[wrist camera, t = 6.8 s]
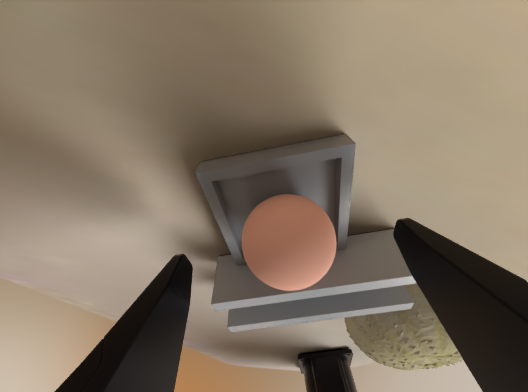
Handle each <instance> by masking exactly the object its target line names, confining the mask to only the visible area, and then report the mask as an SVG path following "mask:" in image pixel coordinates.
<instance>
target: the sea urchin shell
mask: <svg viewBox="0 0 528 392" xmlns="http://www.w3.org/2000/svg"><path fill="white" fill-rule="evenodd" d="M404 287H405V288H406V290H407V292H408V293H409V295H410V296H411V298H412V300H413V301H414V304H413V306H412V308H411V309H407V310H399V311H391V312H384V313H376V314H368V315H361V316H353V317H345V323H346V327H347V332H348V333H349V334H350V338H351V339H353V341H354V342H355V343H354V344H356V345H357V346H358V347H359V348H360V350H362V351H363V352H364V353H365V354H366V355H367V356H368V357H369V358H371V359H373V360H374V361H376V362H378V363H380V364H383V365H385V366H390V367H393V368H396V369H401V370H419V369H429V368H438V367H441V366H443V365H447V366H449V365H450V364H455V363H457V362H458V361H462V360H463V358H462V357H461V355H460V353H459V352H458V350H457V348H456V347H455V345H454V344H453V342H452V340H451V339H450V337H449V335H448V334H447V332H446V330H445V329H444V327H443V326H442V324H441V322H440V321H439V319H438V317H437V316H436V314H435V312H434V311H433V309H432V308H431V306H430V304H429V303H428V301H427V299H426V298H425V296H424V294H423V293H422V291H421V290H420V288H419V286H418V285H417V283H416V284H409V285H404Z"/></svg>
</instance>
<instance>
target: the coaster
mask: <svg viewBox="0 0 528 392" xmlns="http://www.w3.org/2000/svg"><path fill="white" fill-rule="evenodd" d="M355 144H356V143H355V142H354V141H353V140H352V139H351V138H350V137H349V136H348V135H347V134H342V135H337V136H332V137H327V138H322V139H316V140H311V141H306V142H301V143H296V144H290V145H285V146H280V147H275V148H270V149H264V150H259V151H254V152H249V153H244V154H239V155H233V156H228V157H223V158H218V159H213V160H207V161H202V162H200V163H199V166H198V168H197V170H196V173H195V174H196V177H197V179H198V181H199V183H200V186H201V188H202V190H203V192H204V194H205V197H206V199H207V201H208V203H209V205H210V208H211V210H212V212H213V214H214V217H215V219H216V221H217V223H218V225H219V228H220V230H221V232H222V234H223V237H224V239H225V241H226V243H227V245H228V248H229V250H230V252H231V254H232V256H233V259H234V261H235V263H236V265H241V264H247V263H246V261H245V258H244V255H243V251H242V241H241V239H242V231H243V228H244V225H245V222H246V220H247V218H248V216H249V215H250V213H251V212H252V211H253V209H254V208H255V207H256V206H257V205H259V204H260V203H261V202H263V201H264V200H266V199H268V198H270V197H273V196H276V195H282V194H294V195H299V196H303V197H306V198H308V199H310V200H312V201H313V202H315V203H316V204H318V205H319V206H320V207H321V208H322V209H323V210H324V211H325V212H326V214H327V215H328V216H329V218H330V220H331V222H332V224H333V227H334V230H335V234H336V250H339V249H345V248H346V246H347V235H348V224H349V212H350V201H351V190H352V178H353V167H354V156H355Z"/></svg>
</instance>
